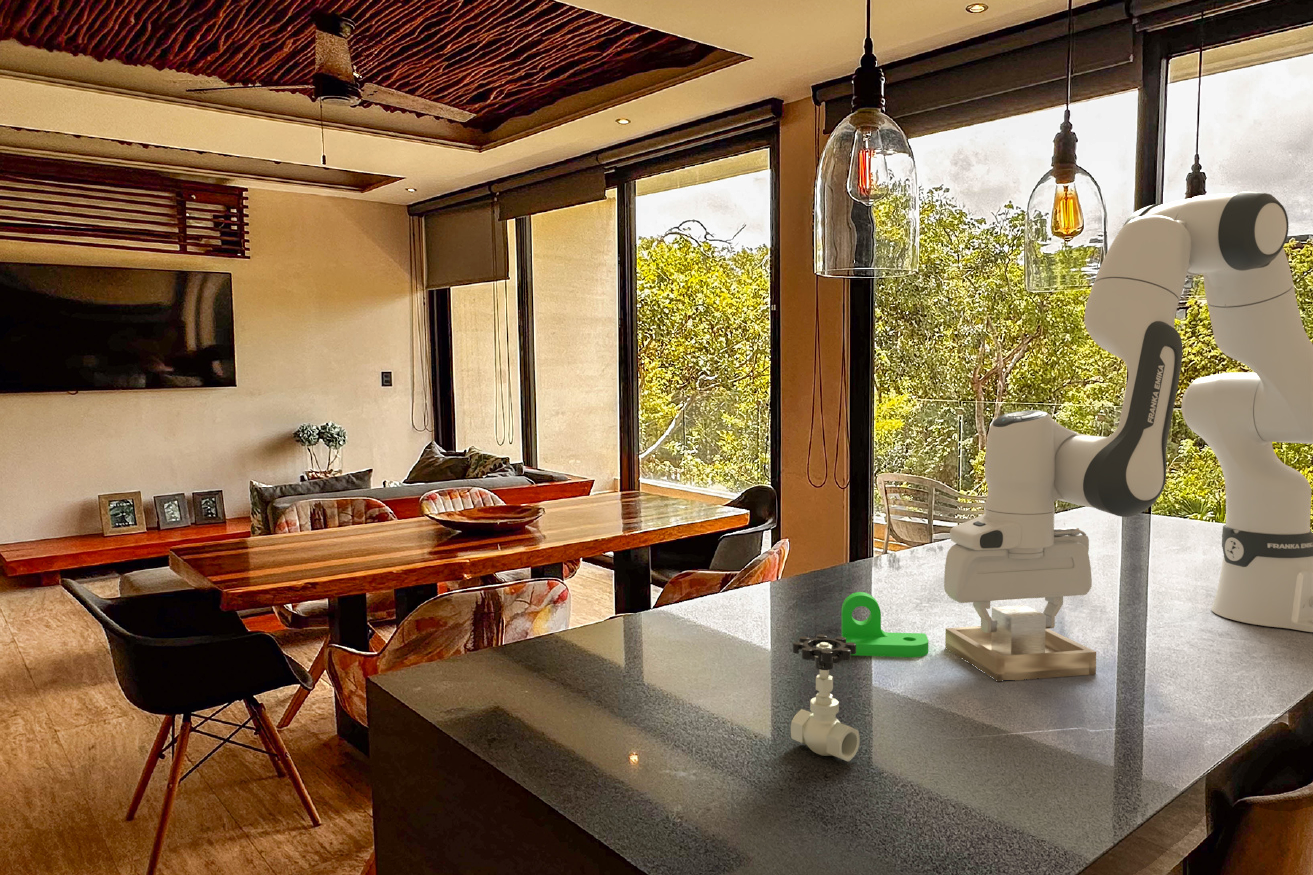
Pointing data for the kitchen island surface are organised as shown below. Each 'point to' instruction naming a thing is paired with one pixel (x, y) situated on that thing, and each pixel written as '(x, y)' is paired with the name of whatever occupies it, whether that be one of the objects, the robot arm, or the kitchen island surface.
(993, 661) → the tray
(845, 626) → the mechanical part
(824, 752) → the valve
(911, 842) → the kitchen island surface
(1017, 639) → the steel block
